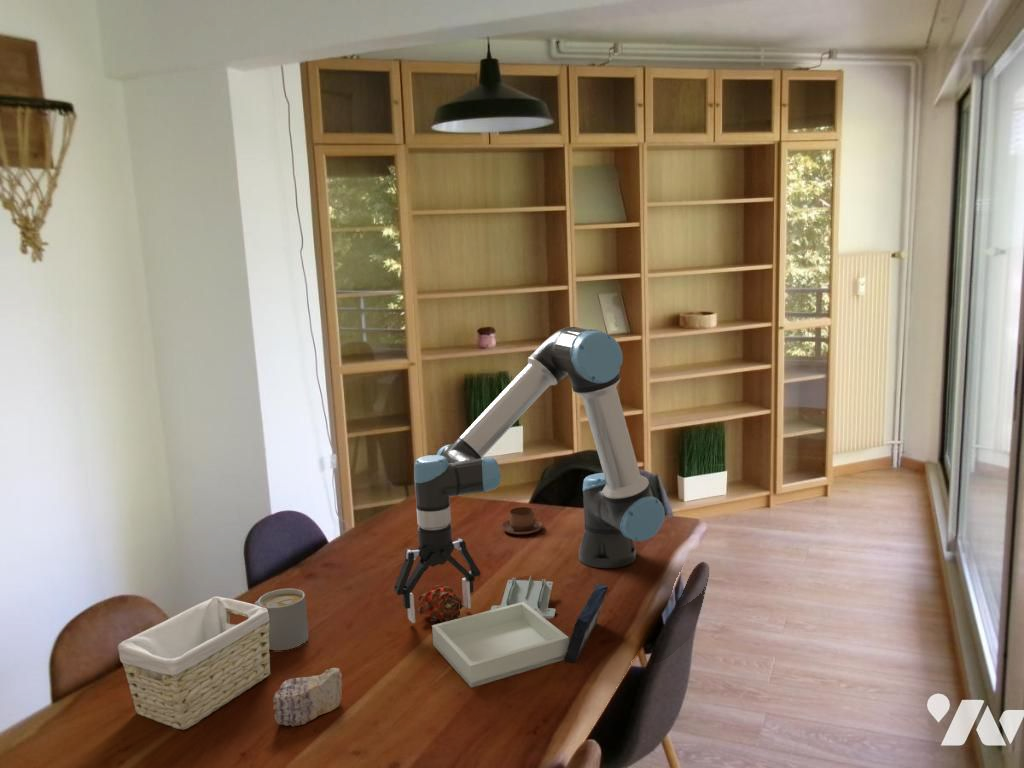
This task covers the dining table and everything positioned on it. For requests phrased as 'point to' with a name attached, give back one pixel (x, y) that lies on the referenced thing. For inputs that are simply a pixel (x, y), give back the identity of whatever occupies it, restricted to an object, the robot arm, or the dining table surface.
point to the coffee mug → (285, 618)
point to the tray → (499, 643)
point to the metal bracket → (529, 595)
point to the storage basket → (196, 661)
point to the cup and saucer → (522, 521)
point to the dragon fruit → (440, 604)
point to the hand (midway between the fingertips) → (439, 613)
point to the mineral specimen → (307, 697)
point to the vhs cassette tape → (585, 623)
